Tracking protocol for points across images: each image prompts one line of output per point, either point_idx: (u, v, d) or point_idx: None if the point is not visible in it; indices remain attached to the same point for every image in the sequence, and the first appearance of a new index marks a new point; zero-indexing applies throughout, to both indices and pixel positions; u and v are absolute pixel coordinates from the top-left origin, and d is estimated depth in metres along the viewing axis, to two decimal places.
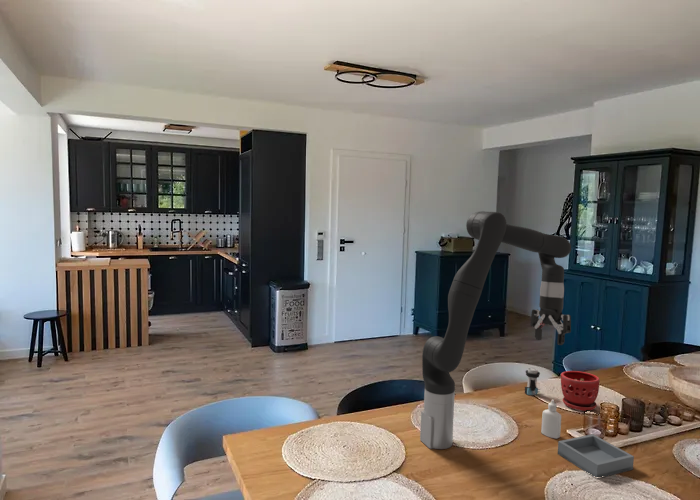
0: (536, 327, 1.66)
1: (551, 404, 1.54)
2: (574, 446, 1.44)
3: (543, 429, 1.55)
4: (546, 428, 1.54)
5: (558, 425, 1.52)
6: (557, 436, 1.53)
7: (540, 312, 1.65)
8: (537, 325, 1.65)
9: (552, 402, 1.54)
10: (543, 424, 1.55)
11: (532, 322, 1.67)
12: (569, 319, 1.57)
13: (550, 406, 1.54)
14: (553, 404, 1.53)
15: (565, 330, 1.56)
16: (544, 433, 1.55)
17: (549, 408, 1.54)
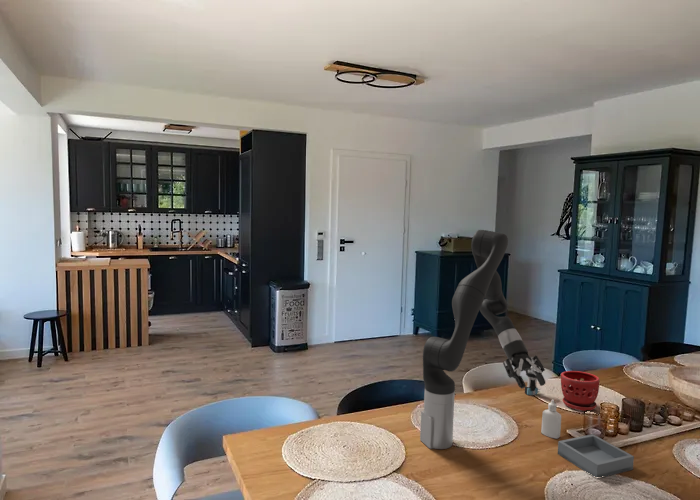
0: (519, 374, 1.62)
1: (551, 404, 1.54)
2: (574, 446, 1.44)
3: (543, 429, 1.55)
4: (546, 428, 1.54)
5: (558, 425, 1.52)
6: (557, 436, 1.53)
7: (514, 359, 1.66)
8: (519, 372, 1.63)
9: (552, 402, 1.54)
10: (543, 424, 1.55)
11: (513, 370, 1.62)
12: None
13: (550, 406, 1.54)
14: (553, 404, 1.53)
15: (543, 368, 1.67)
16: (544, 433, 1.55)
17: (549, 408, 1.54)
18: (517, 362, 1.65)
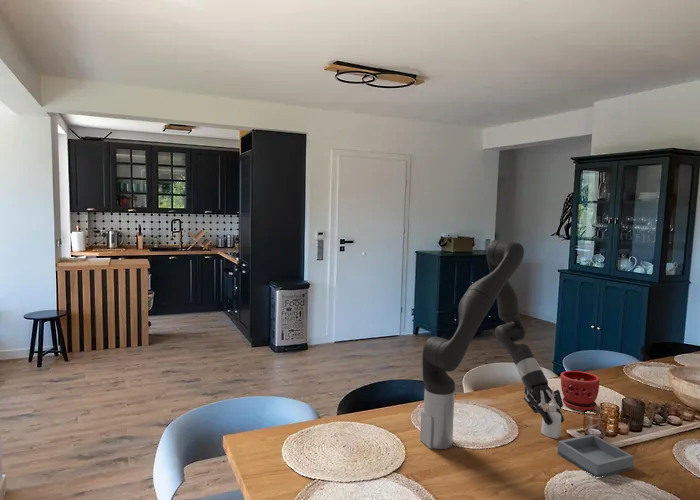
0: (545, 409, 1.54)
1: (551, 404, 1.54)
2: (574, 446, 1.44)
3: (543, 429, 1.55)
4: (546, 428, 1.54)
5: (558, 425, 1.52)
6: (557, 436, 1.53)
7: (534, 391, 1.57)
8: (544, 407, 1.54)
9: (552, 402, 1.54)
10: (543, 424, 1.55)
11: (538, 406, 1.54)
12: None
13: (550, 406, 1.54)
14: (553, 404, 1.53)
15: (562, 404, 1.57)
16: (544, 433, 1.55)
17: (549, 408, 1.54)
18: (538, 396, 1.56)
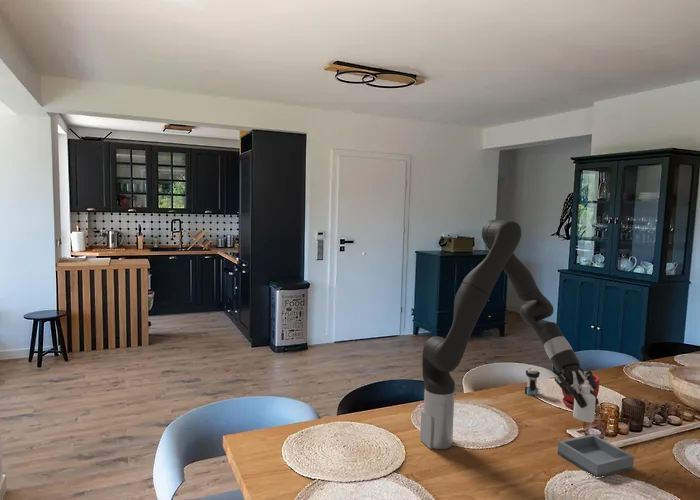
0: (578, 391, 1.41)
1: (585, 385, 1.41)
2: (574, 446, 1.44)
3: (575, 413, 1.43)
4: (579, 411, 1.42)
5: (592, 408, 1.40)
6: (591, 420, 1.40)
7: (565, 372, 1.45)
8: (577, 388, 1.42)
9: (586, 383, 1.42)
10: (575, 407, 1.43)
11: (570, 387, 1.42)
12: None
13: (583, 387, 1.41)
14: (587, 385, 1.41)
15: (595, 385, 1.45)
16: (576, 417, 1.43)
17: (582, 390, 1.42)
18: (570, 376, 1.44)
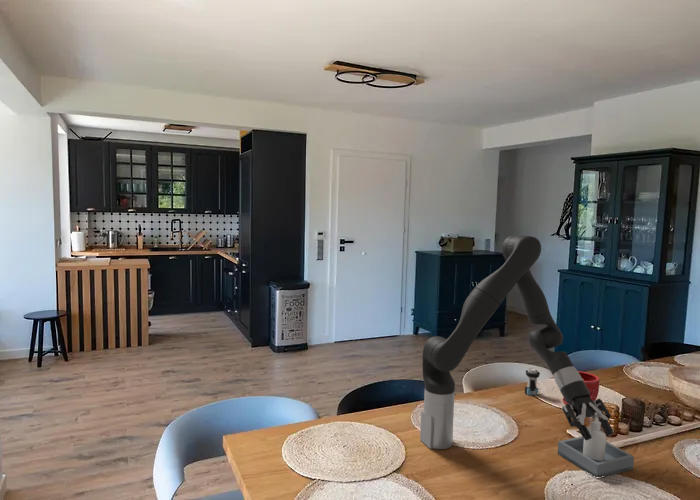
0: (582, 422, 1.37)
1: (595, 422, 1.39)
2: (574, 446, 1.44)
3: (585, 450, 1.40)
4: (589, 449, 1.39)
5: (603, 446, 1.37)
6: (601, 458, 1.37)
7: (576, 404, 1.41)
8: (582, 420, 1.38)
9: (596, 420, 1.39)
10: (585, 444, 1.40)
11: (575, 418, 1.38)
12: None
13: (593, 424, 1.39)
14: (597, 422, 1.38)
15: (609, 414, 1.42)
16: (586, 454, 1.39)
17: (592, 426, 1.39)
18: (579, 407, 1.41)
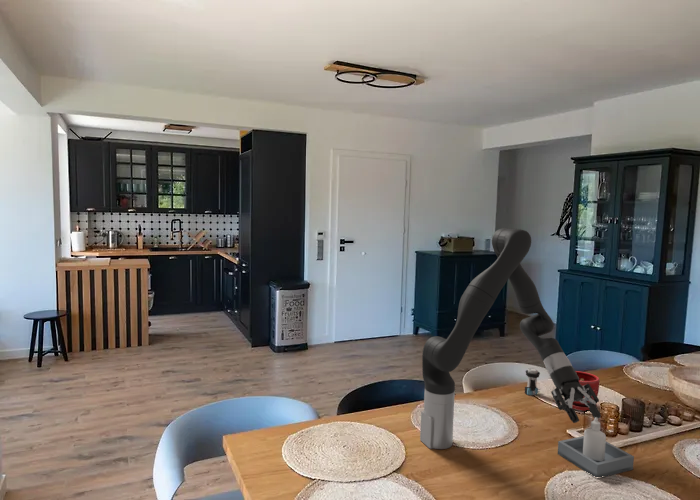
0: (570, 406, 1.41)
1: (594, 422, 1.38)
2: (574, 446, 1.44)
3: (585, 450, 1.40)
4: (589, 449, 1.39)
5: (602, 446, 1.37)
6: (601, 459, 1.37)
7: (564, 388, 1.45)
8: (570, 403, 1.42)
9: (595, 420, 1.38)
10: (585, 445, 1.40)
11: (564, 402, 1.41)
12: None
13: (593, 424, 1.38)
14: (597, 422, 1.38)
15: (597, 398, 1.46)
16: (586, 455, 1.39)
17: (592, 427, 1.39)
18: (568, 392, 1.44)
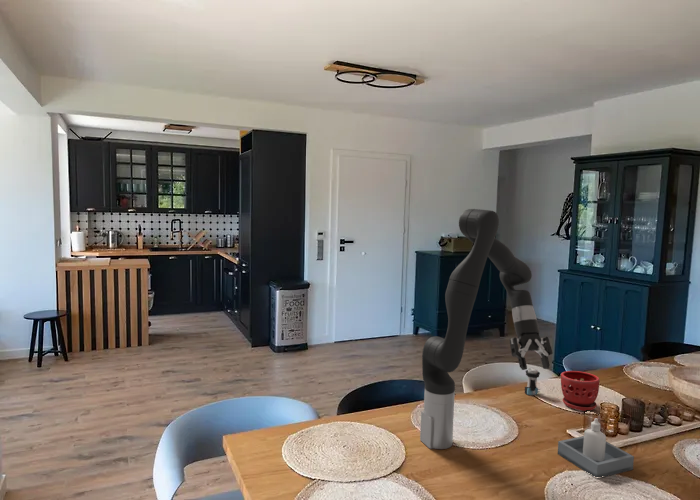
0: (523, 355, 1.55)
1: (594, 423, 1.38)
2: (574, 446, 1.44)
3: (585, 451, 1.40)
4: (589, 450, 1.39)
5: (602, 447, 1.37)
6: (601, 459, 1.37)
7: (522, 338, 1.58)
8: (523, 353, 1.56)
9: (595, 421, 1.38)
10: (585, 445, 1.40)
11: (517, 351, 1.55)
12: None
13: (593, 425, 1.38)
14: (597, 423, 1.38)
15: (551, 351, 1.59)
16: (586, 455, 1.39)
17: (592, 427, 1.38)
18: (524, 342, 1.57)
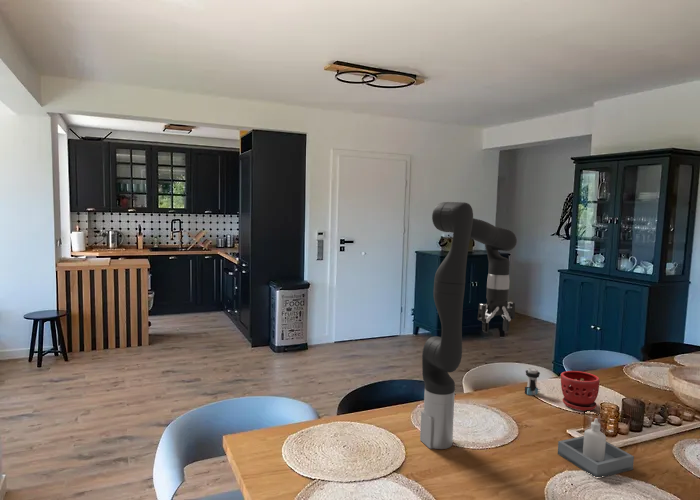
0: (487, 321, 1.65)
1: (594, 423, 1.38)
2: (574, 446, 1.44)
3: (585, 451, 1.40)
4: (589, 450, 1.39)
5: (602, 447, 1.36)
6: (601, 459, 1.37)
7: (491, 305, 1.65)
8: (488, 319, 1.65)
9: (595, 421, 1.38)
10: (585, 445, 1.40)
11: (483, 317, 1.64)
12: None
13: (593, 425, 1.38)
14: (597, 423, 1.38)
15: (514, 316, 1.69)
16: (586, 455, 1.39)
17: (592, 428, 1.38)
18: (492, 308, 1.65)
